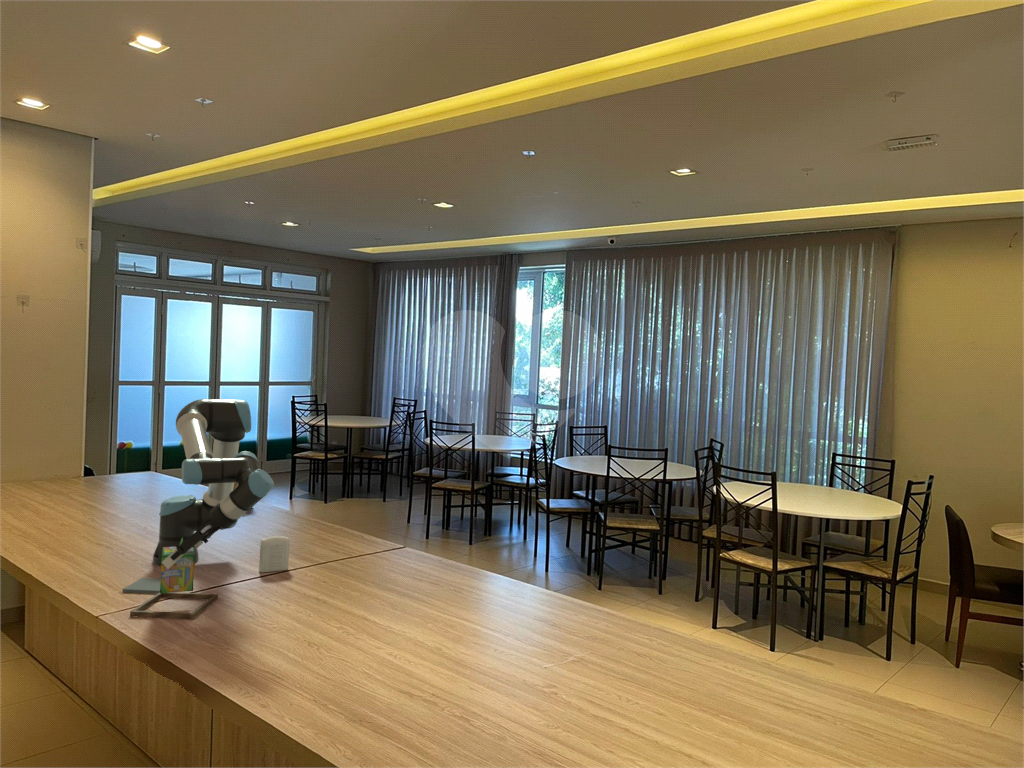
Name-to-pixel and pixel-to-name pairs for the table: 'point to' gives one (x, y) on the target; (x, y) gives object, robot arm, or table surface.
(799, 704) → the table surface
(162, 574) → the chalk box
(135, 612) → the holder frame
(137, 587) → the mat
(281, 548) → the white tombstone
